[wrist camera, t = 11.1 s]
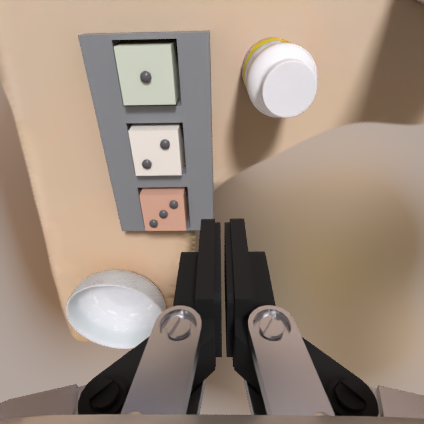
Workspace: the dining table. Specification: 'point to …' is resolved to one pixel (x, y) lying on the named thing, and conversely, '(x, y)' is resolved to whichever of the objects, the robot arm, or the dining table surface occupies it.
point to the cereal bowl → (115, 308)
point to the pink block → (164, 208)
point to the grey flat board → (174, 113)
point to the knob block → (147, 73)
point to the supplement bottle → (279, 77)
